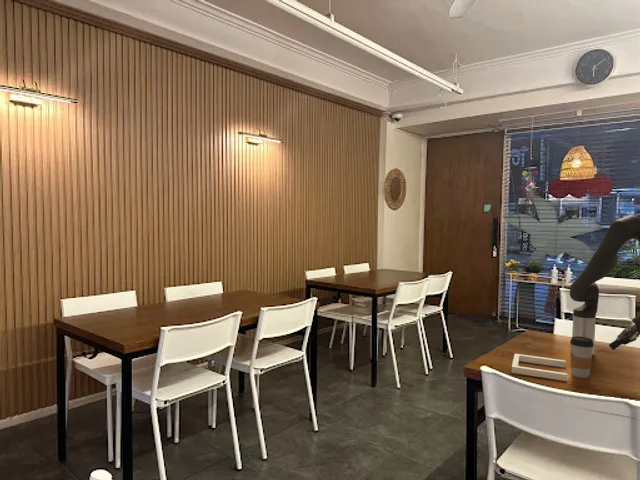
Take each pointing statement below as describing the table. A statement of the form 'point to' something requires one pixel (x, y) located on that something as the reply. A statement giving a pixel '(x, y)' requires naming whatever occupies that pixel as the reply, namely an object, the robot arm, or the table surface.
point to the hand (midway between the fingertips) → (610, 347)
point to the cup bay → (538, 372)
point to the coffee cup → (581, 356)
